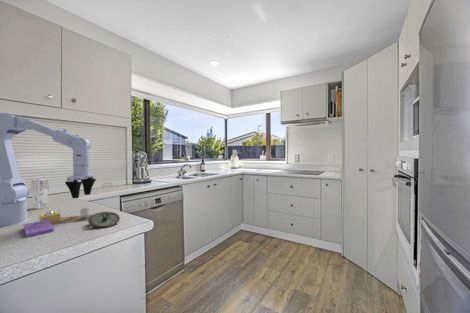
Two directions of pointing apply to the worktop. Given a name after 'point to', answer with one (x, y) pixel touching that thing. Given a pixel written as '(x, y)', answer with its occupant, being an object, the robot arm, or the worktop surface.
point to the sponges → (38, 228)
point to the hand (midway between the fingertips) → (81, 196)
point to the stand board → (83, 217)
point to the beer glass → (39, 193)
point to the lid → (103, 219)
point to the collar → (50, 217)
